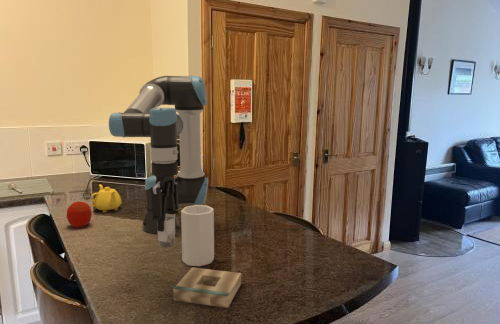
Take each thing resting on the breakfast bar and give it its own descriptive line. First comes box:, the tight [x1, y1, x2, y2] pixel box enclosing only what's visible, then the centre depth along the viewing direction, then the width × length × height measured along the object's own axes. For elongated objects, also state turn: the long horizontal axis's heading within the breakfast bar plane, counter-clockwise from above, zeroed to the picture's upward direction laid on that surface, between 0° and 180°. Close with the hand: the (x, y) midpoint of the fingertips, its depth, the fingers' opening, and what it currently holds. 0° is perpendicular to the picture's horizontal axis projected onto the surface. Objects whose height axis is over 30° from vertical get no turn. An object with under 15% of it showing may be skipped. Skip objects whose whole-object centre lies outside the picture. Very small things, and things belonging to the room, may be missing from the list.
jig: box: [172, 266, 242, 309], centre depth 113 cm, size 16×14×4 cm
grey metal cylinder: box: [158, 217, 176, 249], centre depth 115 cm, size 5×5×8 cm
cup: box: [180, 204, 215, 267], centre depth 133 cm, size 11×11×18 cm
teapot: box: [90, 183, 123, 214], centre depth 191 cm, size 20×15×12 cm
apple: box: [66, 200, 93, 229], centre depth 167 cm, size 10×10×12 cm
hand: (166, 237), depth 115 cm, fingers closed on grey metal cylinder, 4 cm apart
